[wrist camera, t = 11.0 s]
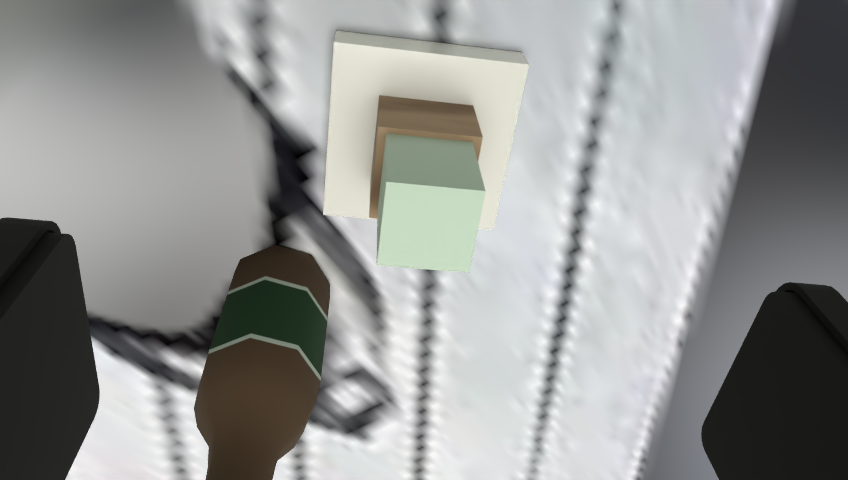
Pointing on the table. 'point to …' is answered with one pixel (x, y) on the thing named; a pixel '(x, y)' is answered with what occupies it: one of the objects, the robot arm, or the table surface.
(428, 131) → the walnut block
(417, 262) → the sage block
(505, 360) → the table surface
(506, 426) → the table surface
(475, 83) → the base slab
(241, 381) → the beer bottle
